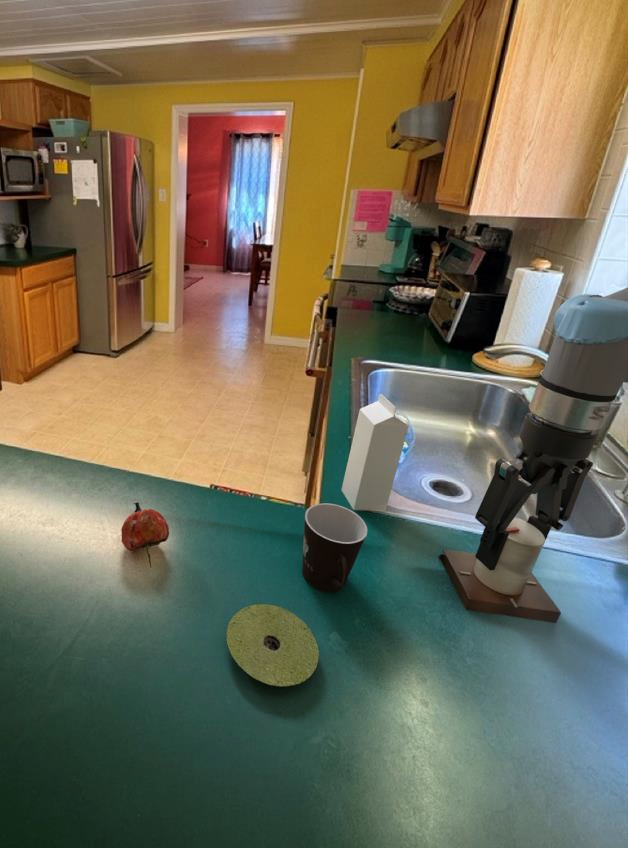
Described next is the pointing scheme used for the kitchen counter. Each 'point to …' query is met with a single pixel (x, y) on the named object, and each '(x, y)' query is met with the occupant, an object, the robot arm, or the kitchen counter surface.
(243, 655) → the green disc with hole
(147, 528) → the pomegranate
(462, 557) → the brown dial base
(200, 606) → the kitchen counter surface
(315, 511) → the coffee mug
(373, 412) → the milk
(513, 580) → the cream knob
